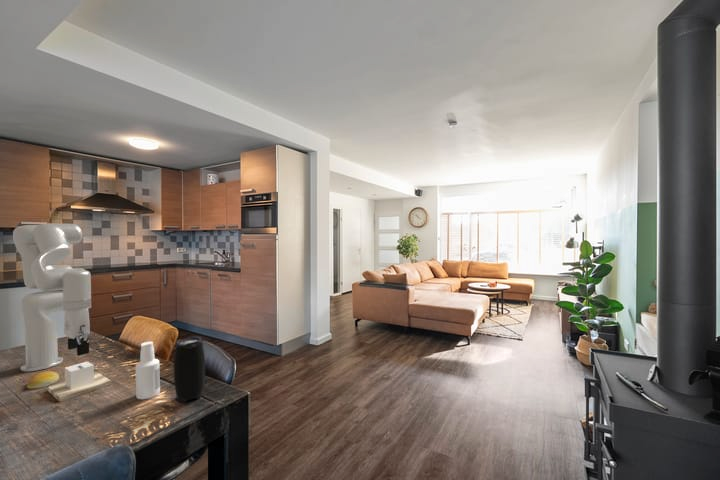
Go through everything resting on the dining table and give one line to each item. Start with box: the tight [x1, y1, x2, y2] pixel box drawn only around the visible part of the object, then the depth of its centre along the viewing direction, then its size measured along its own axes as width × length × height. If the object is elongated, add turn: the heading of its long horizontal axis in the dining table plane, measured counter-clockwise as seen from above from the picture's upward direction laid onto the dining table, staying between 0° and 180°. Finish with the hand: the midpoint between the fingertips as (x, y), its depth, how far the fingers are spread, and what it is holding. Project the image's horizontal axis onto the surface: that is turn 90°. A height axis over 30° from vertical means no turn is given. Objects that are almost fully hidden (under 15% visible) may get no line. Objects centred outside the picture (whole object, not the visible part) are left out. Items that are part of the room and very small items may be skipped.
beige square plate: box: [47, 371, 112, 403], centre depth 112 cm, size 14×14×6 cm
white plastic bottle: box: [134, 341, 161, 400], centre depth 107 cm, size 7×7×18 cm
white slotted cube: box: [64, 361, 95, 390], centre depth 112 cm, size 6×6×6 cm
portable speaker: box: [173, 335, 206, 404], centre depth 105 cm, size 9×9×20 cm
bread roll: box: [26, 370, 60, 390], centre depth 116 cm, size 8×9×4 cm
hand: (78, 351), depth 112 cm, fingers open, 9 cm apart
